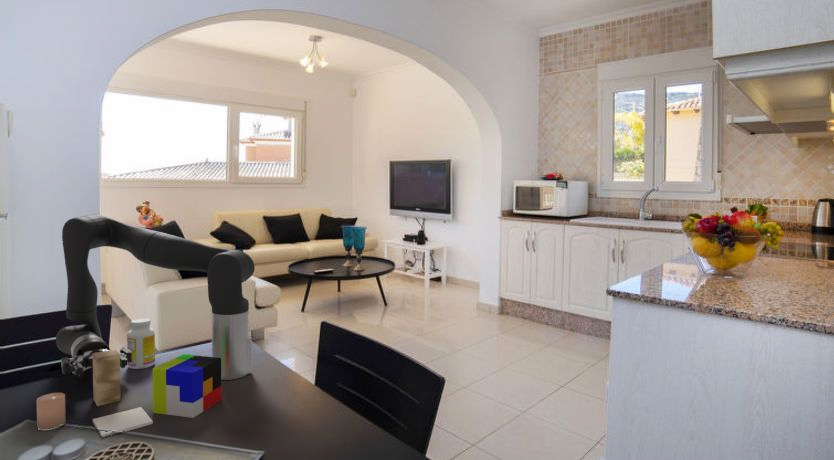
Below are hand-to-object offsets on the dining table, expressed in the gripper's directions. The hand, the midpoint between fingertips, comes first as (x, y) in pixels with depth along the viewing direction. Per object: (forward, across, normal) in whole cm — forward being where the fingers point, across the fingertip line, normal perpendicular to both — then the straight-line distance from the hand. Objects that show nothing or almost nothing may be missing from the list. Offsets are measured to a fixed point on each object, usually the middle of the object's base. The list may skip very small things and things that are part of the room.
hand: (103, 367), depth 113 cm
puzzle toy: (+19, +13, +7) cm, 24 cm away
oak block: (+4, 0, +6) cm, 8 cm away
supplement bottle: (-16, +12, +7) cm, 21 cm away
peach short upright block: (+11, -11, +7) cm, 17 cm away
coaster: (+19, 0, +6) cm, 20 cm away
